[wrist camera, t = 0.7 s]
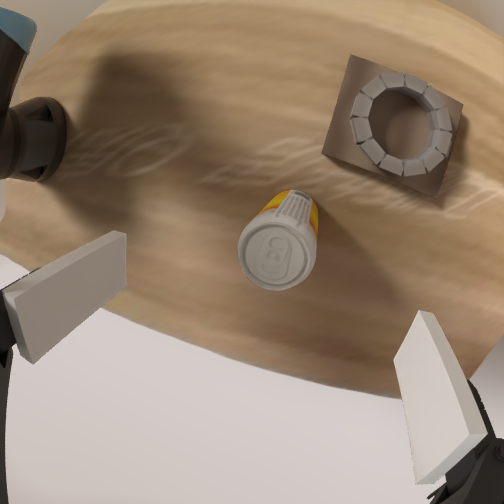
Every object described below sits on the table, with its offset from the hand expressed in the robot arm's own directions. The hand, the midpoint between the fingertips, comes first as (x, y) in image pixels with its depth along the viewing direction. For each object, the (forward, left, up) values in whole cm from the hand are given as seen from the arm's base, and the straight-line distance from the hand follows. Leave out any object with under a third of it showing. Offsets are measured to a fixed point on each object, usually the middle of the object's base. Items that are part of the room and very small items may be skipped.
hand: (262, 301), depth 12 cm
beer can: (0, -2, -25) cm, 25 cm away
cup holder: (+8, +12, -25) cm, 28 cm away
